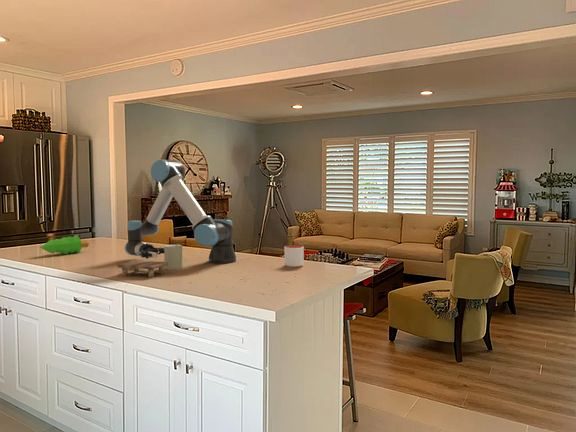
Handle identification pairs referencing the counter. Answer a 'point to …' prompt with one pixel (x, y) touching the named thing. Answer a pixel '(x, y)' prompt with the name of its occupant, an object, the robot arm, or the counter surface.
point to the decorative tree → (65, 245)
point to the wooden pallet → (142, 267)
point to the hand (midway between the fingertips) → (168, 254)
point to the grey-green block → (173, 257)
